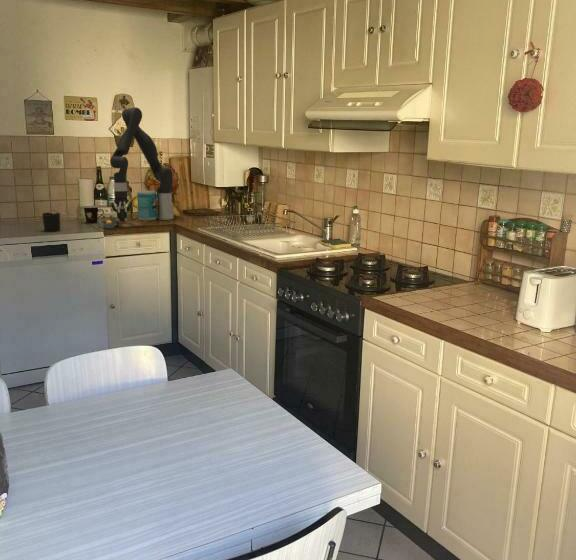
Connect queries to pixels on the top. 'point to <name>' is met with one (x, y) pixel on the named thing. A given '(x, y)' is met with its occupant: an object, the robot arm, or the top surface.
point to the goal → (105, 224)
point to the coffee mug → (91, 214)
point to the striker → (122, 219)
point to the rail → (132, 224)
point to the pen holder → (51, 222)
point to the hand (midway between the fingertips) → (122, 218)
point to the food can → (147, 205)
